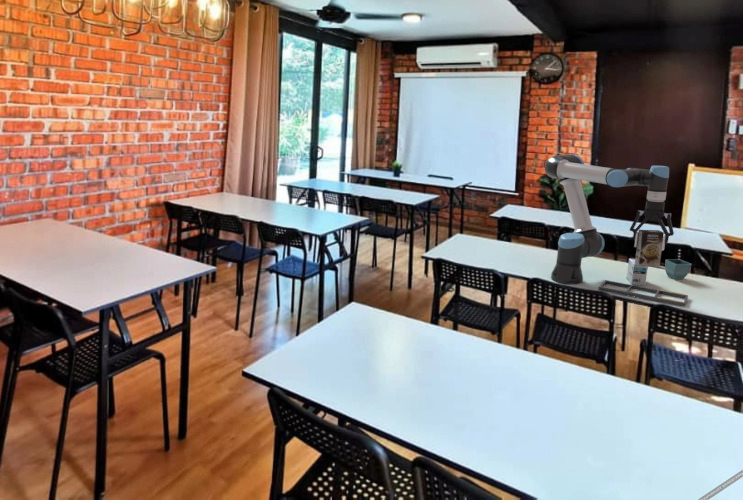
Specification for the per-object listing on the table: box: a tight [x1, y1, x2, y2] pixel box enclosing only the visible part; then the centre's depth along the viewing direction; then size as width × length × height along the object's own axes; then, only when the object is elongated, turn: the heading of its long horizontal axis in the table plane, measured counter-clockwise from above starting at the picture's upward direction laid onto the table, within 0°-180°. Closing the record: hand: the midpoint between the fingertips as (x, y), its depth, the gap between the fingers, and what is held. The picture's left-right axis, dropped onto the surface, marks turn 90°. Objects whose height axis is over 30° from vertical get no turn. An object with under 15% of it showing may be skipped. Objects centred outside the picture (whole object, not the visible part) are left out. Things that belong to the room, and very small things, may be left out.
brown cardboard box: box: [634, 229, 665, 268], centre depth 244 cm, size 9×6×16 cm
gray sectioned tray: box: [598, 279, 689, 308], centre depth 249 cm, size 36×13×2 cm, turn 56°
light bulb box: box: [625, 258, 649, 286], centre depth 267 cm, size 11×7×11 cm, turn 168°
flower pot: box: [664, 259, 692, 280], centre depth 274 cm, size 9×9×9 cm
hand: (649, 248), depth 244 cm, fingers closed on brown cardboard box, 10 cm apart
